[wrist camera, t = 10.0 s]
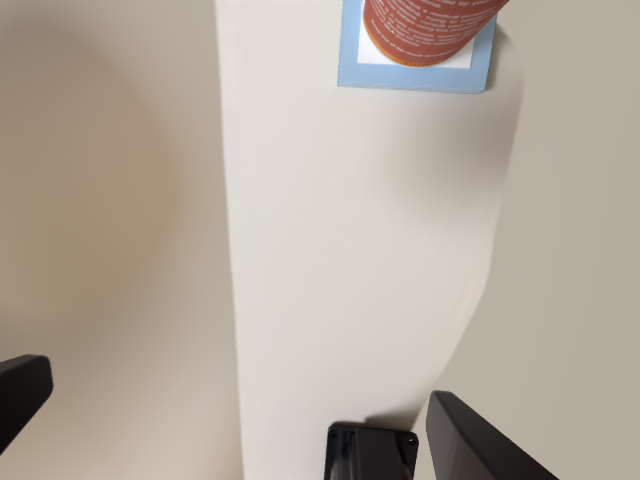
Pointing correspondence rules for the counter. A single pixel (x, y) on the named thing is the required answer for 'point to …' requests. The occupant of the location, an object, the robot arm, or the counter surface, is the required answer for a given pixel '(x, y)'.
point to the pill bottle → (424, 28)
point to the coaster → (377, 72)
